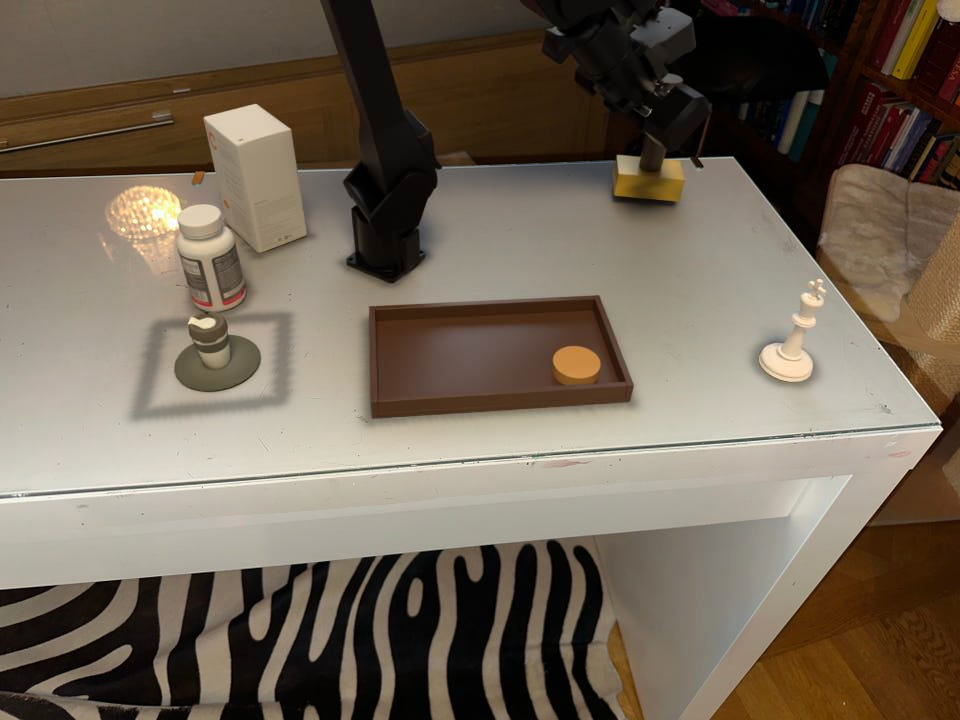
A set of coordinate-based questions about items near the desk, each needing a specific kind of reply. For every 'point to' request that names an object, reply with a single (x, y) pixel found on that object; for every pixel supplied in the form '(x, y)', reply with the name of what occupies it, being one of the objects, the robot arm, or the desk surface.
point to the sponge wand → (649, 169)
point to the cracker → (575, 366)
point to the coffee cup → (215, 355)
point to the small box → (257, 176)
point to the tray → (488, 356)
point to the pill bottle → (209, 259)
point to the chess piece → (795, 341)
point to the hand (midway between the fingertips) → (669, 132)
